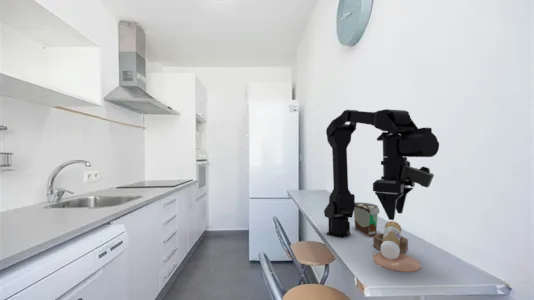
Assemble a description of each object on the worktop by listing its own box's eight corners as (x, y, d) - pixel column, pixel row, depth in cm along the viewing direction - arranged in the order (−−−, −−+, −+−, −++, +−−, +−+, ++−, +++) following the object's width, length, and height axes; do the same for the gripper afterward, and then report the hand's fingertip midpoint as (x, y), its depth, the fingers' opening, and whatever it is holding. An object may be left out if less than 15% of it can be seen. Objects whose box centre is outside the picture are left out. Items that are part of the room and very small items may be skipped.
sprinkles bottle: (404, 227, 77) (403, 253, 65) (394, 237, 79) (391, 263, 67) (391, 217, 78) (387, 241, 66) (381, 226, 80) (376, 251, 68)
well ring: (370, 248, 78) (370, 238, 78) (379, 240, 85) (379, 231, 85) (403, 255, 72) (403, 244, 72) (409, 246, 79) (409, 236, 79)
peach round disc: (367, 264, 66) (367, 261, 66) (380, 251, 75) (380, 249, 75) (416, 277, 59) (416, 273, 60) (423, 261, 68) (423, 258, 68)
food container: (387, 237, 88) (387, 208, 89) (371, 238, 87) (370, 208, 88) (367, 227, 100) (367, 201, 101) (353, 228, 99) (352, 202, 100)
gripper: (424, 157, 55) (426, 229, 55) (435, 156, 70) (436, 214, 69) (371, 157, 62) (372, 221, 62) (391, 156, 77) (392, 209, 76)
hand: (395, 216), depth 67 cm, fingers open, 9 cm apart
